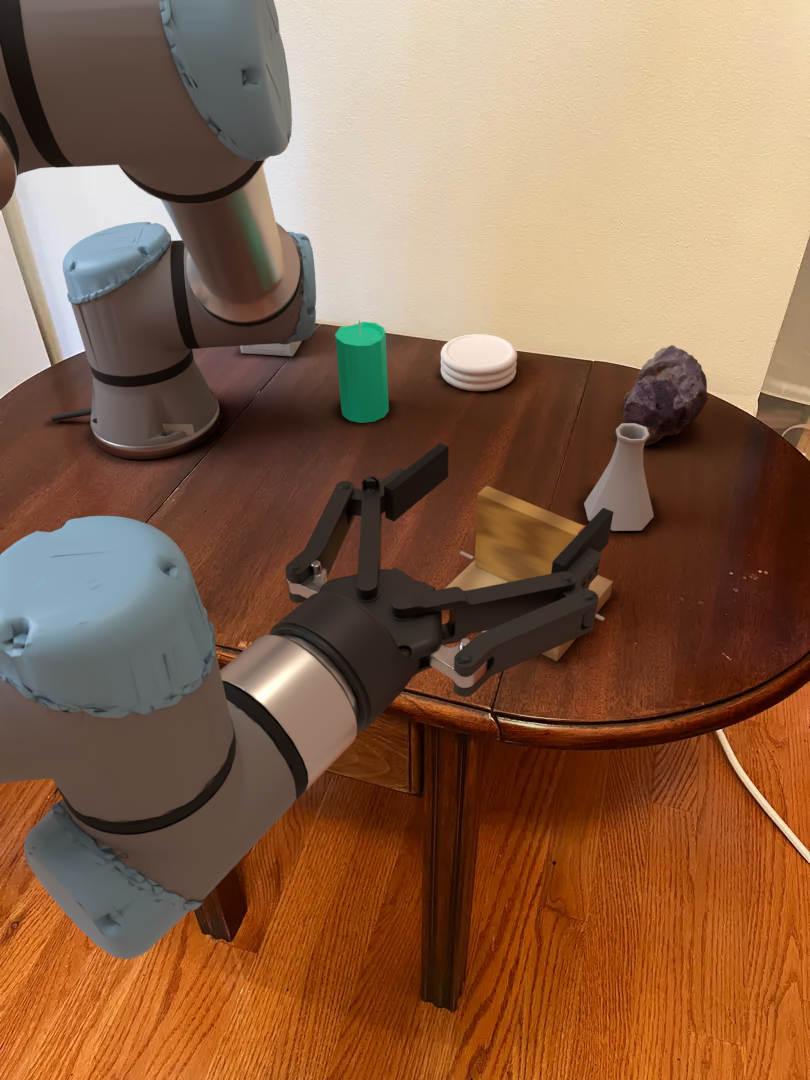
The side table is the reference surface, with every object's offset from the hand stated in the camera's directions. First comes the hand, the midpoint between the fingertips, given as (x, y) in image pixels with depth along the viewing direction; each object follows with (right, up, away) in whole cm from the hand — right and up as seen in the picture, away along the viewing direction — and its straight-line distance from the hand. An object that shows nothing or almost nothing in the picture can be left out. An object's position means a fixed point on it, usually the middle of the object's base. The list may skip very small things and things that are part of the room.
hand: (520, 490), depth 58 cm
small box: (-27, +24, +61) cm, 71 cm away
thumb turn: (+3, -7, +19) cm, 21 cm away
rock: (+22, +10, +42) cm, 49 cm away
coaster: (+2, +18, +53) cm, 56 cm away
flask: (+14, -1, +30) cm, 33 cm away
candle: (-13, +13, +47) cm, 50 cm away
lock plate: (+3, -9, +20) cm, 22 cm away
